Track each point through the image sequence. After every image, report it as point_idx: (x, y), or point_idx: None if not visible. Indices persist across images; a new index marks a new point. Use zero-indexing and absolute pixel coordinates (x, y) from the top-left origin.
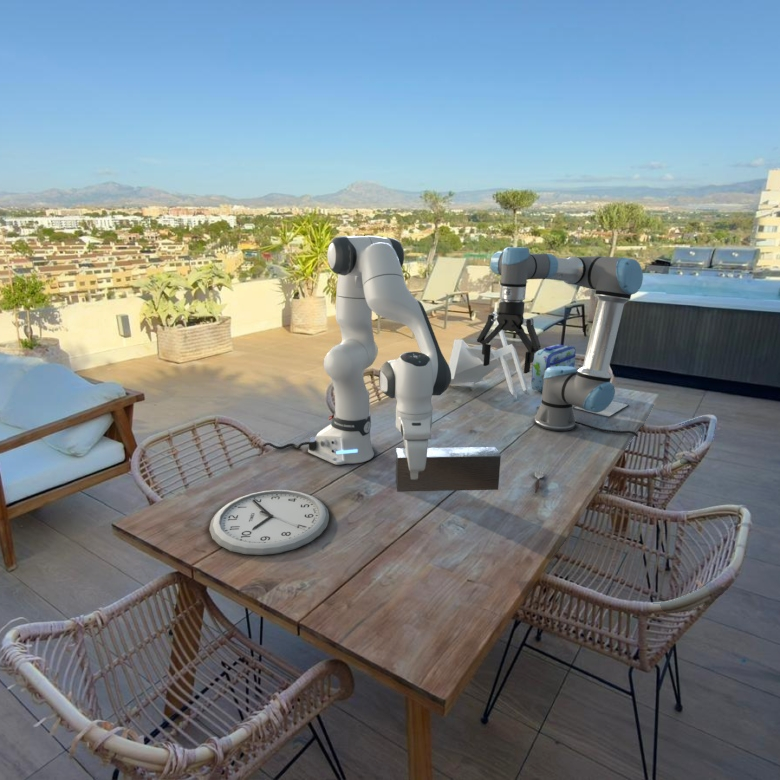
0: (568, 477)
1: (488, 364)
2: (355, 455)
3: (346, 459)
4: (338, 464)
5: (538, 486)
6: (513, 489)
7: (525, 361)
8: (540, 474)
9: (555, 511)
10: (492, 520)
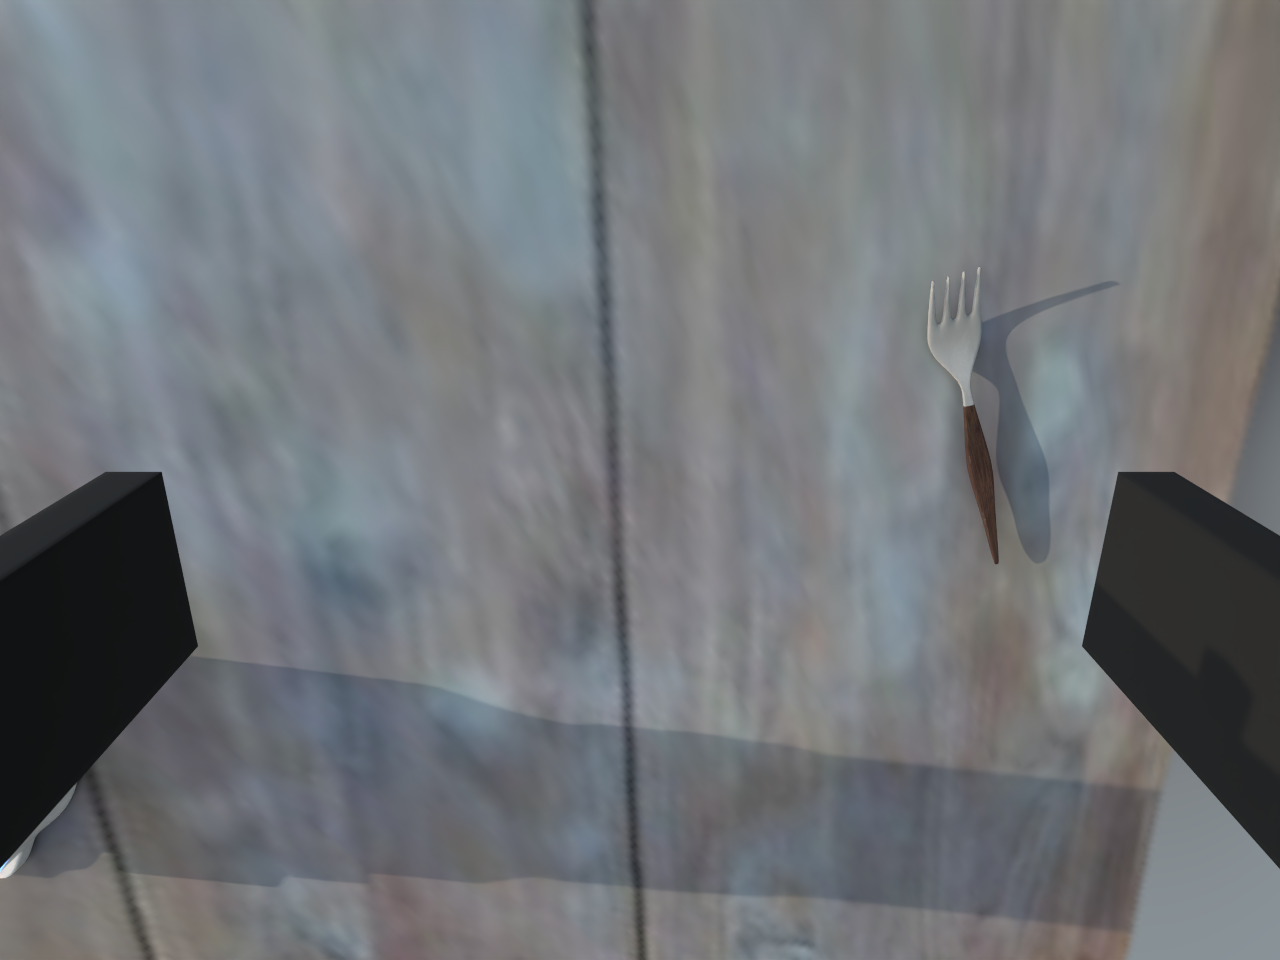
0: (1124, 222)
1: (166, 519)
2: None
3: (20, 851)
4: (22, 864)
5: (993, 489)
6: (870, 568)
7: (1263, 827)
8: (962, 327)
9: None
10: (886, 849)
